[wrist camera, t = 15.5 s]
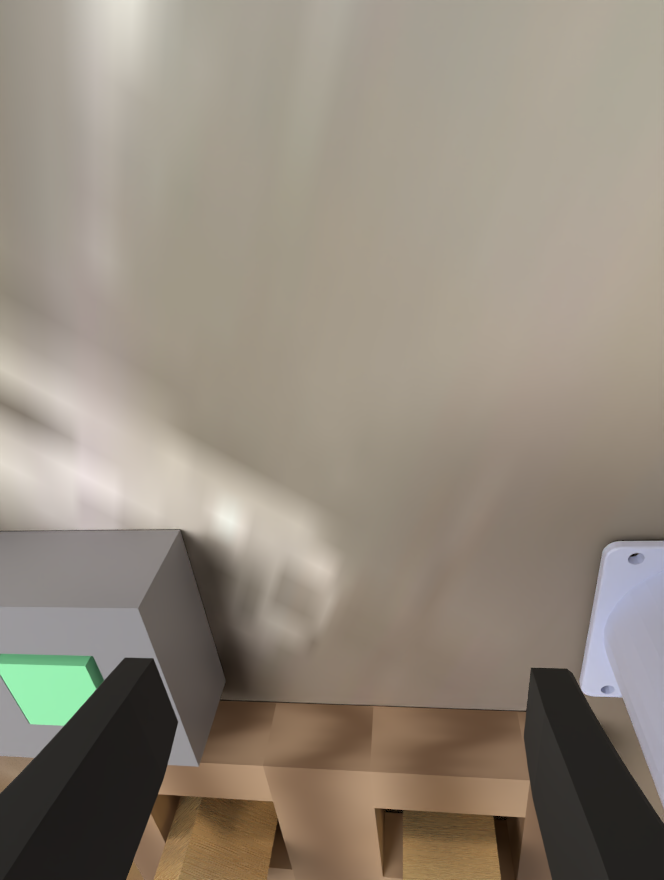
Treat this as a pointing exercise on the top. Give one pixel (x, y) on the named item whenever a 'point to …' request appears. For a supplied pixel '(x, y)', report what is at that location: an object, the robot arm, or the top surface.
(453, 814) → the block
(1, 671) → the button
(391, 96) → the top surface
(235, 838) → the block
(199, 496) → the top surface
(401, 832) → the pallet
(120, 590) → the button housing
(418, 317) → the top surface
